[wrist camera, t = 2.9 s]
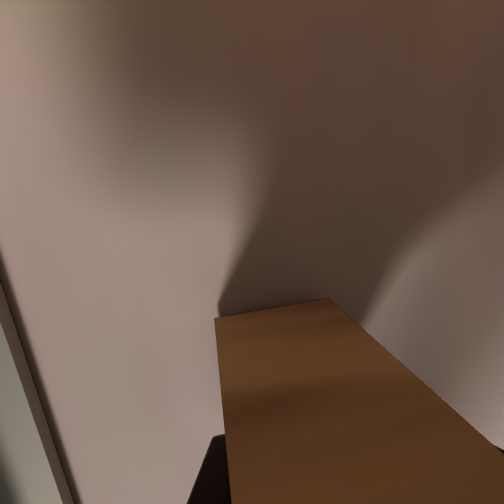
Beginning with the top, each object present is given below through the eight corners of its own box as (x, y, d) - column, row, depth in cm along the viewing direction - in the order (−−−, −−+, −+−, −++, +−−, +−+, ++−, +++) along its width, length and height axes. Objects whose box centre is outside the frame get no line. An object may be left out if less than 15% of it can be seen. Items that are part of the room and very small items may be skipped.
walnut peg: (333, 395, 11) (623, 858, 4) (229, 418, 11) (301, 1026, 3) (328, 298, 10) (711, 639, 3) (214, 318, 10) (262, 826, 2)
